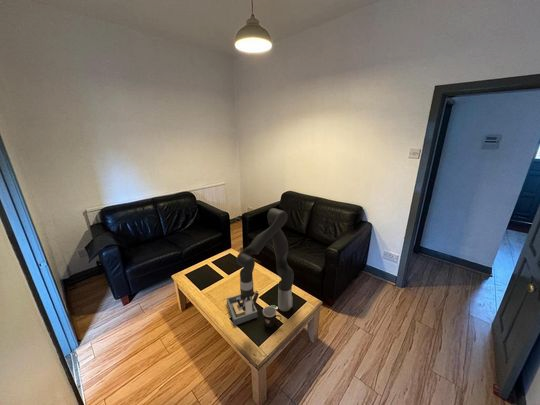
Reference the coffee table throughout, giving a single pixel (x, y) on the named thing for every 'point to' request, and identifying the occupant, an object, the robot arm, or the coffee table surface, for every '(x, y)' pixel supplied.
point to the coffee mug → (270, 316)
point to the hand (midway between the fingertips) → (247, 308)
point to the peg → (248, 307)
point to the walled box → (239, 311)
